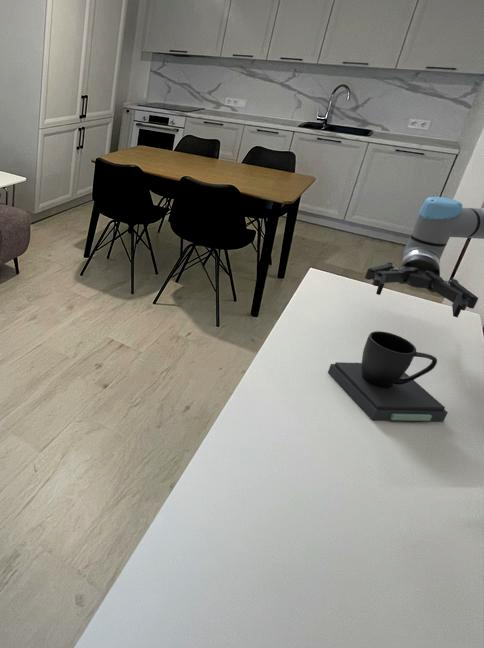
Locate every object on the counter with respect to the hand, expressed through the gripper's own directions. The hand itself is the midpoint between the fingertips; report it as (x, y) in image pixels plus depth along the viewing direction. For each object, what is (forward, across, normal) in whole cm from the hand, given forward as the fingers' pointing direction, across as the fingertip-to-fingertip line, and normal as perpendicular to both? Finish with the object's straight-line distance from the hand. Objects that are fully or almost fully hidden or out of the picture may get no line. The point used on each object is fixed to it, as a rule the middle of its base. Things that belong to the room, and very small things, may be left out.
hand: (417, 299), depth 105 cm
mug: (+10, 0, -16) cm, 19 cm away
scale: (+10, 0, -19) cm, 22 cm away
